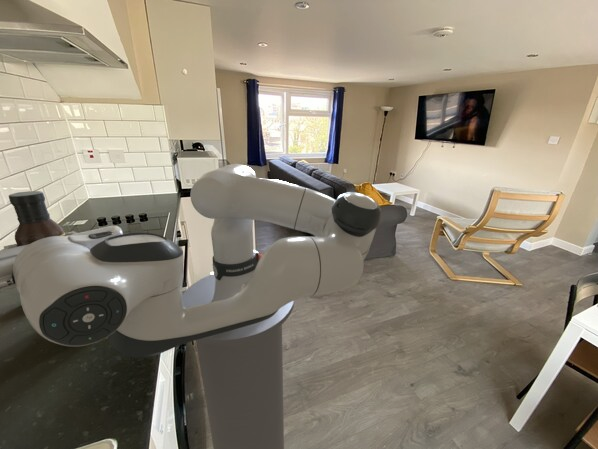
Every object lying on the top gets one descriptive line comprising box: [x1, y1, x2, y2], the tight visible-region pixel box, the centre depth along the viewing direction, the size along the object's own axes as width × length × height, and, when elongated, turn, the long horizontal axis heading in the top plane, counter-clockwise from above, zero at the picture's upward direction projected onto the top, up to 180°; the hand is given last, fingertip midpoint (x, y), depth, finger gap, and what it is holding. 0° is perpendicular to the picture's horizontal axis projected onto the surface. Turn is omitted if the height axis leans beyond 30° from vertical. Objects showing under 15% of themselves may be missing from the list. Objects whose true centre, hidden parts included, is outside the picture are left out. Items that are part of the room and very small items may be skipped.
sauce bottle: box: [8, 190, 66, 247], centre depth 45 cm, size 6×6×20 cm
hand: (43, 242), depth 46 cm, fingers closed on sauce bottle, 6 cm apart
